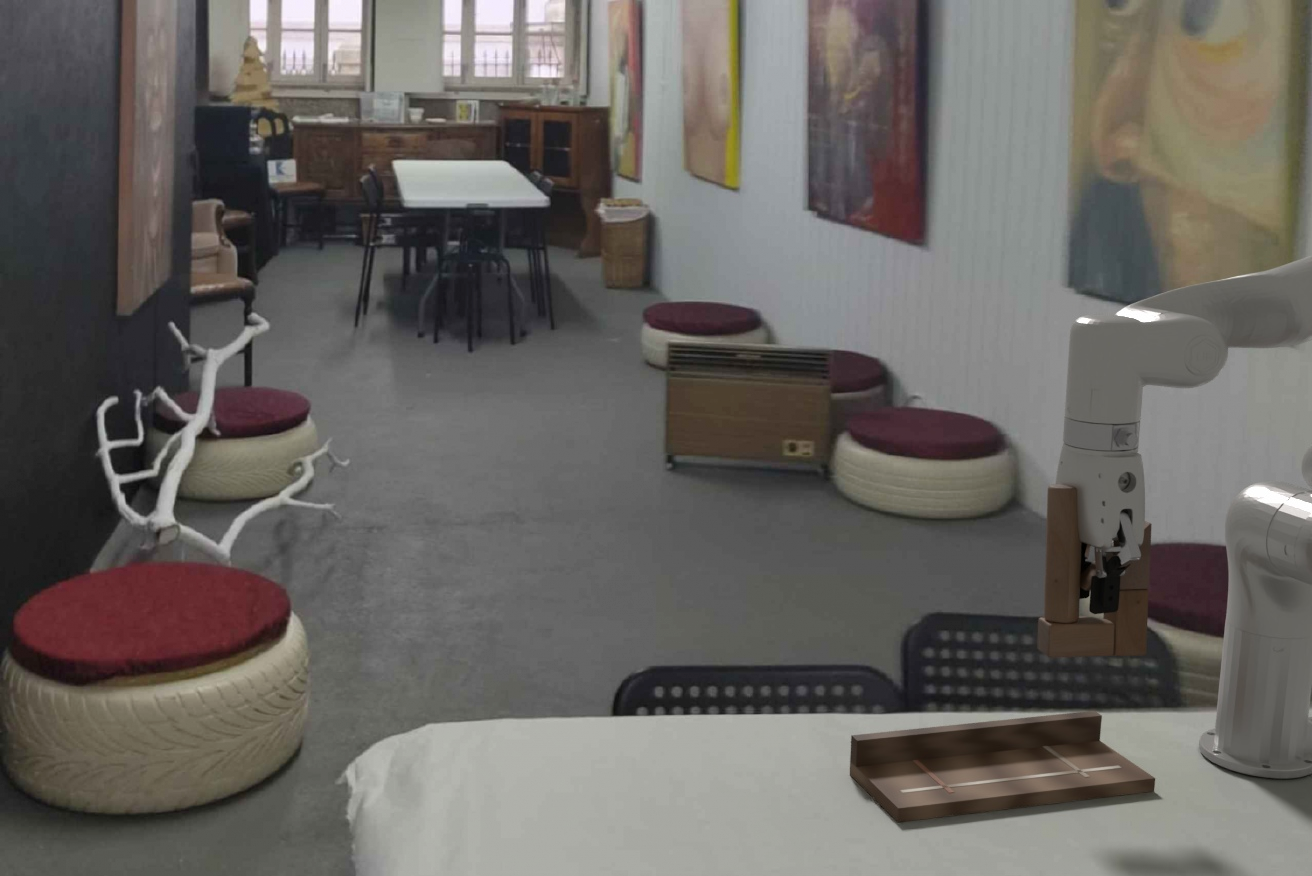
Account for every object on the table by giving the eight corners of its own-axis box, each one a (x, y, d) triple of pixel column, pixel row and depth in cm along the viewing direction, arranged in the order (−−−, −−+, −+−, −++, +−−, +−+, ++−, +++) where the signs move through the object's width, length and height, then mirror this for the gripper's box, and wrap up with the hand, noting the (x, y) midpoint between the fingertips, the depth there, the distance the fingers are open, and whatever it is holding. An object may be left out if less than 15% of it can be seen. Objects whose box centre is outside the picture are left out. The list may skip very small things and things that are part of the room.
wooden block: (1147, 656, 156) (1154, 487, 154) (1048, 659, 155) (1053, 488, 153) (1132, 647, 160) (1138, 482, 158) (1036, 650, 159) (1041, 483, 157)
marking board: (1091, 748, 170) (1094, 710, 169) (1154, 791, 159) (1157, 751, 158) (849, 774, 161) (851, 735, 161) (897, 822, 150) (899, 780, 149)
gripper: (1184, 449, 147) (1170, 626, 150) (1083, 419, 162) (1072, 580, 166) (1120, 453, 144) (1107, 633, 148) (1024, 422, 160) (1014, 586, 163)
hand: (1089, 603), depth 157 cm, fingers closed on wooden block, 4 cm apart
